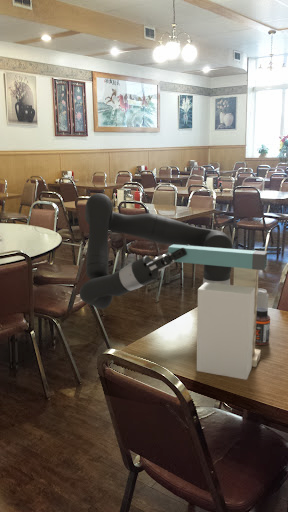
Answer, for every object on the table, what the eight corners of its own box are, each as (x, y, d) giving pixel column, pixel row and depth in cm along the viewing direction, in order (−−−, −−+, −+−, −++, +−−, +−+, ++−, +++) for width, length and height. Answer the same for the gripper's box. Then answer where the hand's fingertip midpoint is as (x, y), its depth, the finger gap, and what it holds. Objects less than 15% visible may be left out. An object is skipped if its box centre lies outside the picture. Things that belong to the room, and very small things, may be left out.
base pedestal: (203, 360, 138) (205, 282, 132) (251, 368, 132) (254, 287, 127) (196, 370, 131) (197, 289, 126) (246, 379, 126) (250, 294, 121)
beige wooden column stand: (211, 348, 146) (214, 248, 139) (260, 355, 141) (265, 251, 133) (204, 358, 139) (206, 253, 132) (255, 367, 133) (260, 257, 126)
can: (252, 326, 163) (253, 293, 161) (242, 319, 170) (243, 287, 168) (271, 324, 165) (273, 292, 163) (260, 317, 172) (262, 286, 170)
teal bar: (173, 258, 133) (173, 244, 132) (266, 266, 123) (267, 251, 122) (168, 261, 129) (168, 246, 128) (263, 270, 119) (264, 254, 118)
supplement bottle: (246, 342, 150) (247, 309, 148) (256, 337, 154) (257, 304, 152) (262, 347, 146) (264, 313, 144) (272, 342, 150) (274, 308, 148)
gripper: (122, 267, 130) (173, 241, 122) (142, 257, 142) (189, 232, 135) (134, 291, 130) (186, 267, 122) (153, 279, 143) (201, 255, 135)
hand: (187, 249), depth 129 cm, fingers closed on teal bar, 4 cm apart
